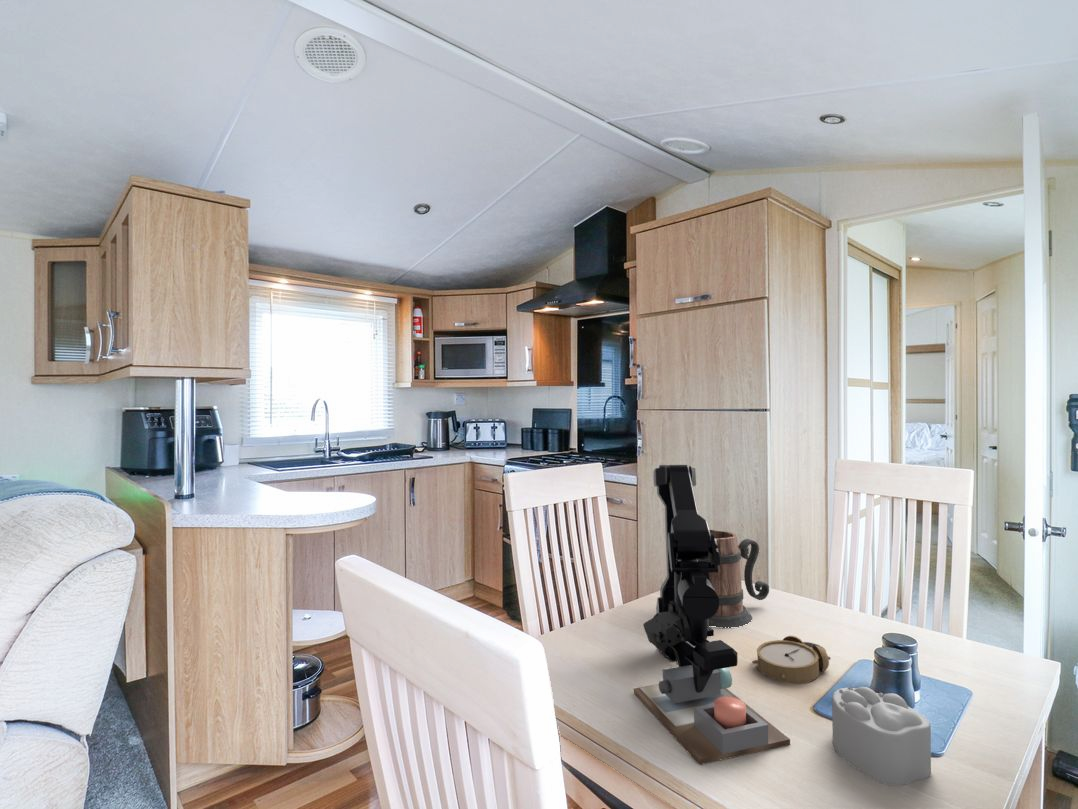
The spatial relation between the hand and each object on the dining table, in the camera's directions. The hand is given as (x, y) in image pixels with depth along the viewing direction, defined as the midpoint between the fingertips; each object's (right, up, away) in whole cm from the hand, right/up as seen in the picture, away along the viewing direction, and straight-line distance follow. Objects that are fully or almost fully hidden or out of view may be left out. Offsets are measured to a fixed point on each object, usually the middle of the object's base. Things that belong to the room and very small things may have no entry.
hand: (692, 686), depth 103 cm
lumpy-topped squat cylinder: (+23, -3, -15) cm, 28 cm away
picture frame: (+1, -3, -4) cm, 5 cm away
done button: (+3, -1, -11) cm, 11 cm away
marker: (0, -1, 0) cm, 1 cm away
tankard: (+20, -2, +42) cm, 47 cm away
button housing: (+3, -3, -11) cm, 11 cm away
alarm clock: (+24, -3, +13) cm, 27 cm away
